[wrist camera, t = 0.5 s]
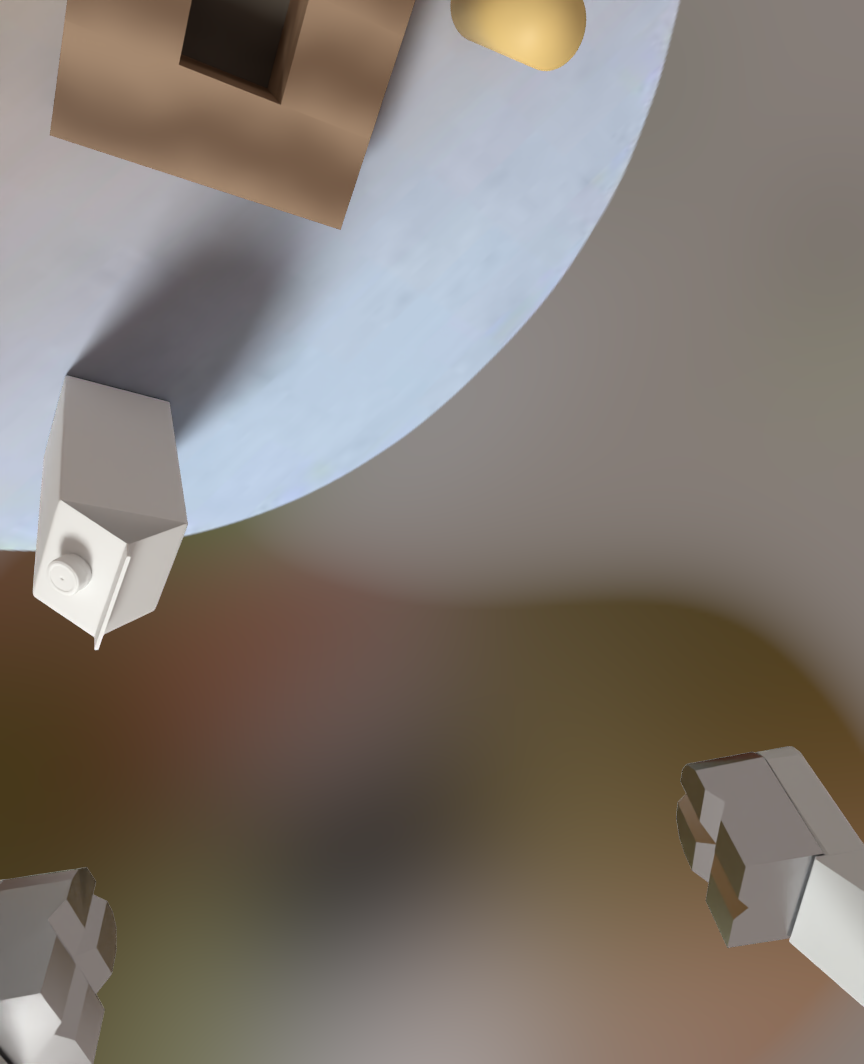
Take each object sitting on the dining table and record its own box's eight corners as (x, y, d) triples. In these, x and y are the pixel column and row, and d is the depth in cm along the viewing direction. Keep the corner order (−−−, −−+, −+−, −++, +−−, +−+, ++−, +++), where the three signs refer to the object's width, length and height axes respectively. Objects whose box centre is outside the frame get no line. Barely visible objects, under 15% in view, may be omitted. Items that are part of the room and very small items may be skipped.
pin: (466, -49, 46) (536, -36, 39) (522, -18, 48) (599, 0, 41) (440, 26, 48) (503, 52, 41) (494, 52, 50) (563, 83, 43)
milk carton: (170, 400, 57) (195, 566, 43) (143, 478, 60) (159, 656, 47) (65, 372, 54) (56, 544, 40) (42, 457, 57) (27, 643, 43)
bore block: (101, -252, 36) (102, -270, 32) (406, -83, 44) (440, -78, 40) (53, 109, 44) (49, 135, 40) (319, 200, 52) (340, 229, 48)
